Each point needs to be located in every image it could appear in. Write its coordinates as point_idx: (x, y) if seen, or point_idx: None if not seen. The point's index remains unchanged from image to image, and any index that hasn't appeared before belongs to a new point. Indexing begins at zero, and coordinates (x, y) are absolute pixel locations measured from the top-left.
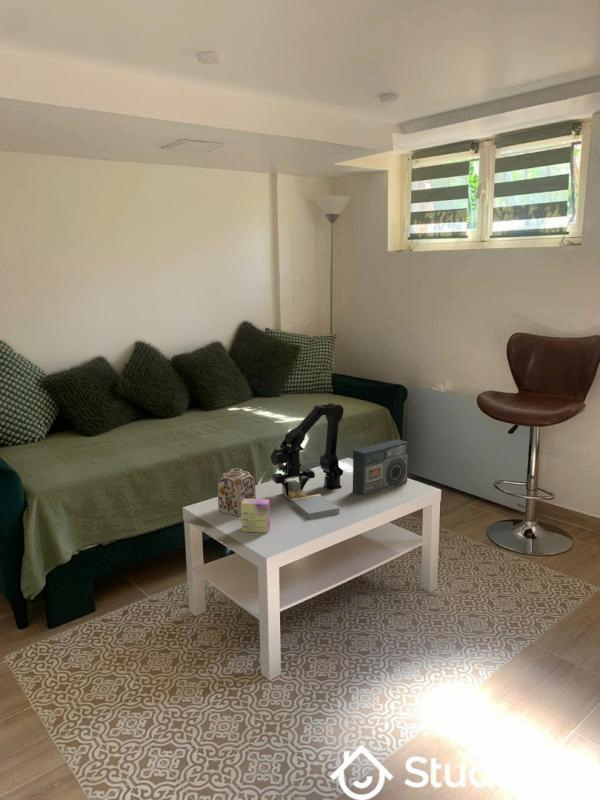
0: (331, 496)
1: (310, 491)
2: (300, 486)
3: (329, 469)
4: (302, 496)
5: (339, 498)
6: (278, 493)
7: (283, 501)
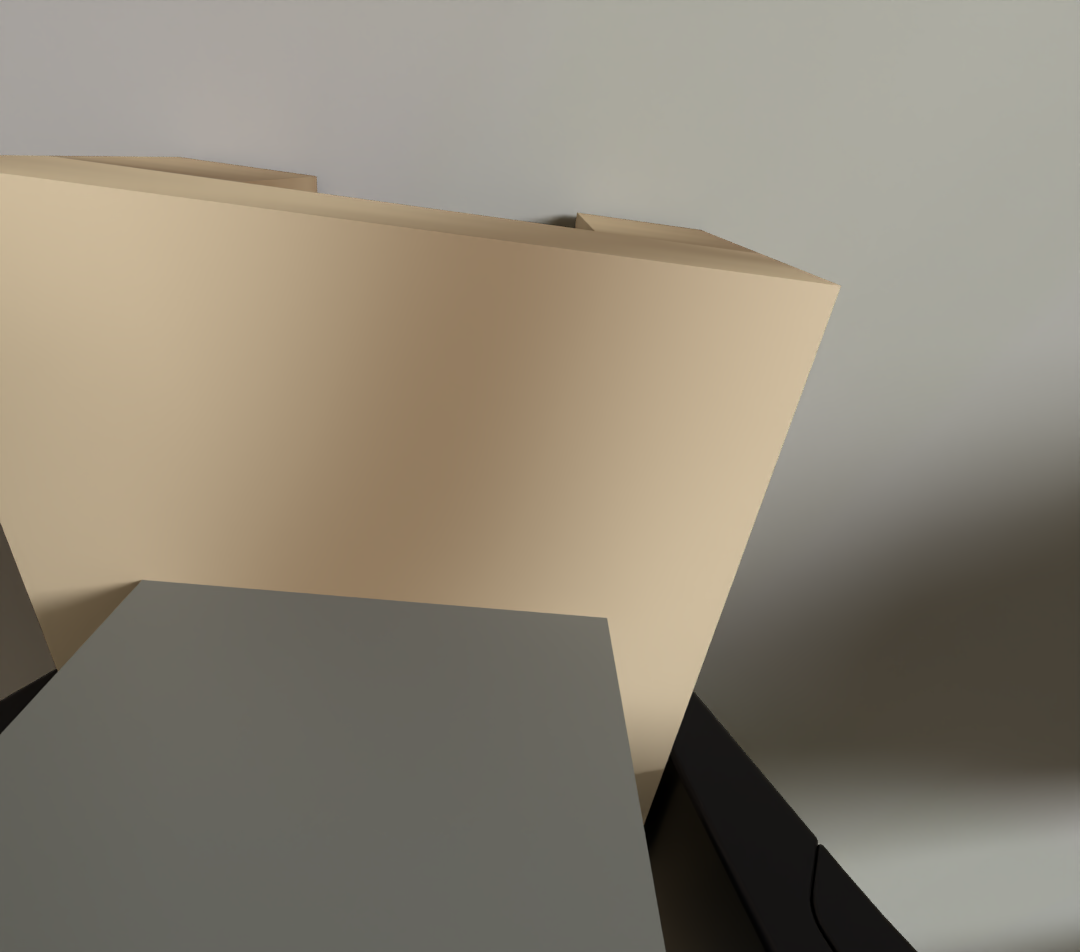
0: (1050, 862)
1: (1060, 503)
2: (674, 916)
3: None
4: None
5: (1044, 938)
6: (26, 48)
7: None
